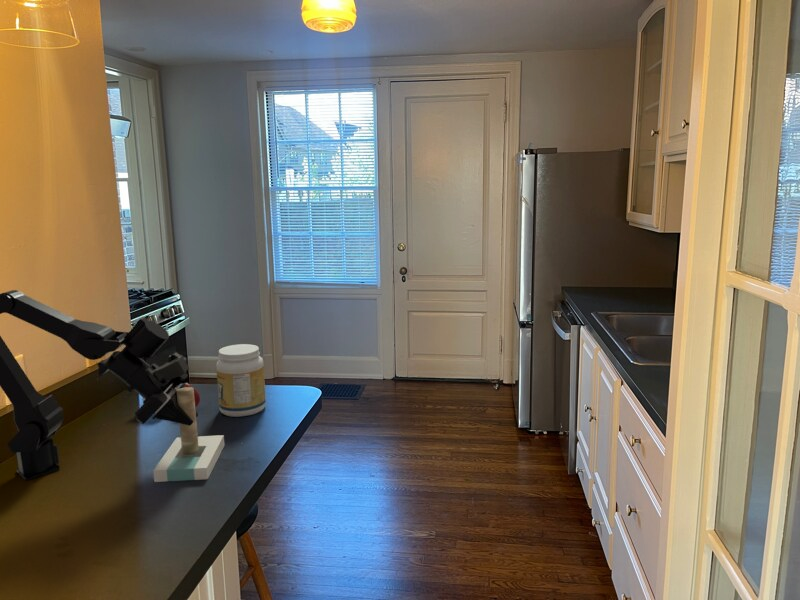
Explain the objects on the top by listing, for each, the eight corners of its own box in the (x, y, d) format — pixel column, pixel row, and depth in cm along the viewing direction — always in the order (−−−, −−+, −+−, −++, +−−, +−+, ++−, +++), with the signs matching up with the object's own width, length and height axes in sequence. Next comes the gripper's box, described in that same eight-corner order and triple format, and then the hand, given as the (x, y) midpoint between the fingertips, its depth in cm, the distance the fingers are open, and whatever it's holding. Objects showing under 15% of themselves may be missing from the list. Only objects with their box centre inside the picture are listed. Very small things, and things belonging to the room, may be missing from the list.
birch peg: (183, 456, 123) (177, 393, 120) (181, 450, 126) (175, 388, 123) (199, 452, 124) (194, 390, 122) (197, 446, 127) (192, 386, 125)
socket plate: (207, 479, 118) (206, 467, 118) (154, 482, 117) (153, 470, 117) (224, 445, 134) (223, 435, 133) (177, 447, 133) (176, 437, 132)
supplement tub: (216, 406, 159) (211, 346, 155) (261, 398, 164) (257, 340, 160) (223, 421, 148) (218, 358, 144) (270, 413, 153) (266, 351, 149)
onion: (204, 407, 157) (202, 379, 156) (195, 416, 152) (192, 387, 150) (184, 407, 158) (181, 379, 156) (174, 415, 152) (171, 386, 151)
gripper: (146, 358, 111) (209, 410, 114) (175, 334, 129) (228, 379, 132) (108, 399, 112) (171, 449, 115) (142, 369, 130) (196, 413, 133)
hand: (194, 420), depth 124 cm, fingers closed on birch peg, 3 cm apart
